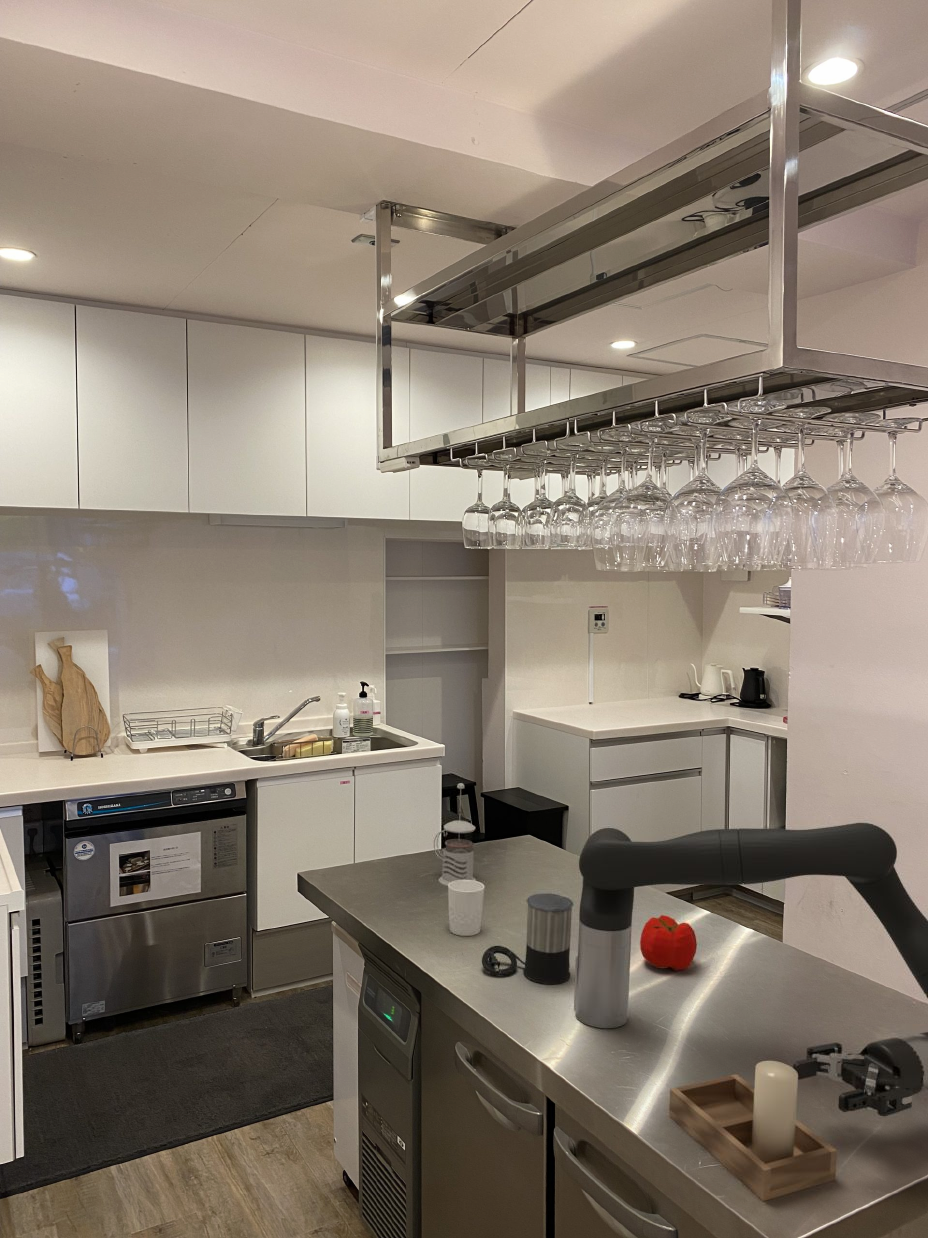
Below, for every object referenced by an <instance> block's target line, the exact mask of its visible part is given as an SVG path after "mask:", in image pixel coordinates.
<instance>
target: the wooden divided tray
mask: <svg viewBox="0 0 928 1238" xmlns="http://www.w3.org/2000/svg"><path fill="white" fill-rule="evenodd" d="M754 1088H755V1086H752V1085H751V1084H750V1083H749V1082H748V1081H746V1080H744V1078H742V1077H741V1076H739V1075H738V1074H736V1073H735V1074H731V1075H727V1076H723V1077H718V1078H714V1079H708V1080H704V1081H700V1082H695V1083H692V1084H687V1085H683V1086H677V1087H674V1088H670V1090H669V1107H668V1108H669V1109H668V1110H669V1111H668V1116H669V1117H670V1118H671V1119H672V1120H673V1121H674V1122H675V1123H677V1125H679V1126H680V1127H681V1128H682V1129H683V1130H684V1131H685V1132H686V1133H687V1134H689V1135H690V1137H692V1138H693V1139H694V1140H695V1141H696V1142H698V1143H699V1145H700V1146H702V1147H703V1148H704V1149H705V1150H706V1151H707V1152H708V1153H709V1154H711V1156H713V1158H715V1159H716V1160H717V1161H718V1162H719V1163H721V1164H722V1165H723V1166H724V1167H725V1168H727V1169H728V1172H729V1171H730V1173H732V1175H734V1176H735V1177H736V1178H737V1179H738V1180H739V1181H740V1182H742V1184H744V1185H745V1186H746V1187H747V1188H748V1189H749V1190H750V1191H751V1192H753V1193H754V1194H755V1195H756V1196H757V1197H758V1198H759V1199H760V1200H761V1201H763V1202H765V1201H769V1200H772V1199H775V1198H778V1197H781V1196H785V1195H788V1194H793V1193H795V1192H796V1193H797V1192H799V1191H803V1190H805V1189H808V1188H809V1189H810V1188H812V1187H815V1186H818V1185H823V1184H825V1183H830V1182H833V1181H836V1171H837V1156H838V1155H837V1153H838V1150H837V1149H836V1148H835V1147H833V1146H832V1145H831V1144H829V1143H828V1142H826V1140H824V1139H823V1138H821V1137H820V1136H819V1135H817V1134H816V1133H815V1132H814V1131H812V1130H811V1129H809V1128H808V1127H807V1126H805V1125H804V1124H803V1123H801V1122H800V1121H799V1120H798V1119H796V1123H795V1142H794V1156H793V1157H789V1158H786V1159H782V1160H779V1161H775V1162H771V1163H768V1164H765V1163H764V1162H763V1161H761V1160H760V1159H759V1158H758V1157H757V1156H755V1155H754V1154H753V1153H752V1152H751V1147H752V1127H753V1108H754Z"/></svg>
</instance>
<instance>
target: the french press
mask: <svg viewBox="0 0 928 1238" xmlns="http://www.w3.org/2000/svg"><path fill="white" fill-rule="evenodd" d="M456 788H457V789H459V790H460V791H459V792H460V793H459V811H461V807H462V804H461V801H462V789H465V784H464V783H463V782H462V783H459V782H458V784H457V786H456ZM475 830H476V825H473V824H472V823H471V822H469V821H466V820H461V814H459V819H458V820H453V821H450V822H448V823H446V824H444V825H443V830H441V831H439V832H438V833H437V834H435V837H434V838H433V839H434V840H433V849H434V852H435V854H436V855H437V857H438V858H439V859H441V860H442V870H441V871H442V872H441V873H442V875H441V876H440V877H439V878H438V882H439V883H440V884H442V885H444V886H447V887H448V885H449V883H451V882H453V881H457V880H473V881H477V878H475V877H474V876H473V875H474V855H475V854H474V850H475V849H474V847H472V846H473V845H474V843H473V842H472V841H471V840H469V839H462V838H460V837H461V836H460V834H467V833H472V832H474V831H475ZM445 831H446V832H445ZM448 832H449V833H453V834H454V833H455V834H458V838H453V839H447V840H445V842H444V844H445V847H443V850H442V852H443V853H442V852H441V851H440V848H439V837H440V834H442V833H443V837H447V835H448ZM435 843H436V844H435ZM436 849H437V850H436ZM459 849H460V850H459ZM456 850H459V851H456ZM462 850H464V851H462ZM437 851H438V853H439V854H440V856H439V855H438V853H437Z"/></svg>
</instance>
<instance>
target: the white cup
mask: <svg viewBox="0 0 928 1238" xmlns="http://www.w3.org/2000/svg"><path fill="white" fill-rule="evenodd" d="M447 892H448V896H447V897H448V919H449V931H450V933H451V934H454V935H456V936H461V937H472V936H475V935H478V934H480V932H481V927H482V926H481V925H482V918H483V908H484V896H485V885H484V883H482V882H480V881H477V880H476V881H473V880H457V881H453V882H451V883H449V885H448V886H447Z"/></svg>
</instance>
